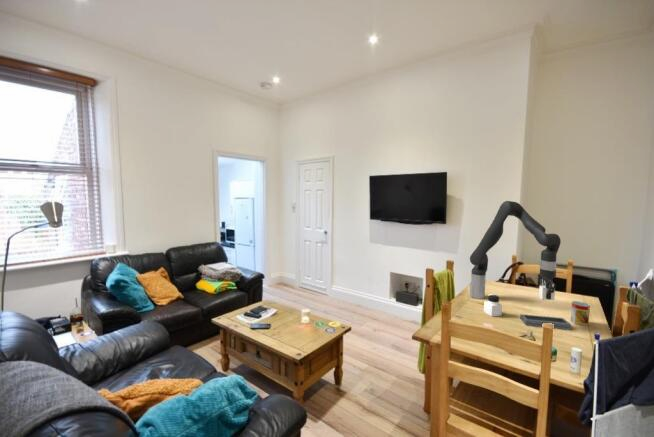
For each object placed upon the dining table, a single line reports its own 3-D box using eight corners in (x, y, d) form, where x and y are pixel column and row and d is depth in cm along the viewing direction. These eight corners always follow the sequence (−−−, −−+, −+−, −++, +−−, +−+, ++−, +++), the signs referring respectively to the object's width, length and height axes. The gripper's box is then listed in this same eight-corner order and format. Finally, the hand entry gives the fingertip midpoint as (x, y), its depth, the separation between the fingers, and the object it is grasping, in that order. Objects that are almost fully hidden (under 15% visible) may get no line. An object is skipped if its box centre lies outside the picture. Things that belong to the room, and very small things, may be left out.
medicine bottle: (501, 315, 179) (502, 297, 178) (491, 316, 178) (492, 297, 177) (493, 311, 186) (494, 293, 185) (483, 312, 185) (484, 293, 184)
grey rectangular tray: (526, 325, 166) (526, 320, 166) (519, 318, 176) (519, 313, 176) (571, 330, 161) (571, 325, 160) (562, 322, 170) (562, 317, 170)
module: (542, 299, 166) (542, 285, 165) (539, 297, 170) (539, 283, 169) (554, 300, 164) (555, 286, 164) (550, 298, 168) (551, 284, 167)
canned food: (591, 327, 164) (593, 306, 163) (576, 325, 166) (577, 305, 165) (582, 320, 172) (583, 301, 171) (567, 319, 173) (568, 300, 172)
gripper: (534, 265, 173) (533, 293, 175) (546, 271, 160) (544, 301, 161) (549, 265, 171) (548, 294, 173) (562, 271, 158) (560, 302, 159)
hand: (546, 297), depth 167 cm, fingers closed on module, 4 cm apart
